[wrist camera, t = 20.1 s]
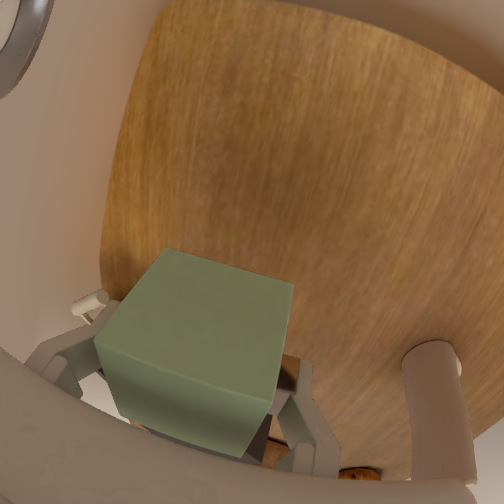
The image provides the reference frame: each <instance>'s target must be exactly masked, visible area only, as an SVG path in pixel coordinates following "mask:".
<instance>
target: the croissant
mask: <svg viewBox="0 0 504 504" xmlns="http://www.w3.org/2000/svg"><path fill="white" fill-rule="evenodd" d="M338 479H352V480H373V481H382V480H381V478H380V477H379V475H378V474H377V473H376V472H375V471H373V470H370V469H362V468H360V469H358V468H356V469H351V470H345V471H341V472H339V475H338Z"/></svg>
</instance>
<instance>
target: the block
mask: <svg viewBox="0 0 504 504" xmlns="http://www.w3.org/2000/svg"><path fill="white" fill-rule="evenodd" d="M293 291H294V284H293V283H290V282H286V281H283V280H279V279H275V278H272V277H268V276H265V275H261V274H257V273H254V272H250V271H247V270H243V269H240V268H236V267H233V266H229V265H226V264H222V263H219V262H215V261H212V260H208V259H205V258H201V257H198V256H195V255H191V254H188V253H184V252H181V251H177V250H174V249H171V248H165V249H164V250H163V251H162V252H161V254H160V255H159V256H158V257H157V259H156V260H155V261H154V262H153V263H152V265H151V266H150V267H149V268H148V270H147V271H146V272H145V273H144V274H143V276H142V277H141V278H140V279H139V281H138V282H137V283H136V284H135V286H134V287H133V288H132V289H131V291H130V292H129V293H128V295H127V296H126V297H125V298H124V300H123V301H122V302H121V304H120V305H119V306H118V307H117V309H116V310H115V311H114V313H113V314H112V315H111V317H110V318H109V319H108V321H107V322H106V323H105V325H104V326H103V327H102V329H101V330H100V331H99V333H98V334H97V335H96V337H95V338H94V344H95V347H96V350H97V354H98V357H99V360H100V363H101V366H102V369H103V372H104V375H105V378H106V380H107V383H108V386H109V388H110V391H111V394H112V396H113V399H114V402H115V404H116V407H117V409H118V411H119V414H120V415H121V416H123V417H125V418H127V419H129V420H132V421H134V422H136V423H138V424H141V425H143V426H146V427H148V428H150V429H153V430H155V431H158V432H161V433H163V434H166V435H168V436H171V437H174V438H177V439H179V440H182V441H185V442H188V443H191V444H194V445H197V446H200V447H203V448H207V449H210V450H213V451H217V452H220V453H224V454H227V455H231V456H235V457H239V458H241V457H242V456H243V454H244V452H245V451H246V449H247V447H248V446H249V444H250V442H251V441H252V439H253V437H254V435H255V434H256V432H257V430H258V429H259V427H260V425H261V423H262V422H263V420H264V418H265V416H266V414H267V413H268V411H269V409H270V407H271V405H272V404H273V401H274V396H275V391H276V386H277V381H278V376H279V371H280V365H281V360H282V355H283V349H284V344H285V338H286V333H287V327H288V321H289V315H290V309H291V303H292V297H293Z"/></svg>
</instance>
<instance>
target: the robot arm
mask: <svg viewBox="0 0 504 504" xmlns="http://www.w3.org/2000/svg"><path fill="white" fill-rule="evenodd" d="M19 4H20V0H0V51H1V50H2V48H3V47H4V45H5V43H6V41H7V39H8V37H9V35H10V33H11V30H12V28H13V25H14V22H15V19H16V16H17V12H18V9H19ZM120 304H121V302H119V301H117V300H114V299H113V300H111V301H109V303H108V304H107V305H106V306H105V308H104V309H103V310H102V312H101V313H100V314H99V315H98V317H97V318H96V319H95V320H94V321H93V323H92V324H91V325H88V324H87V325H84V326H82V327H79V328H77V329H74V330H72V331H69V332H67V333H64V334H62V335H59V336H57V337H54V338H52V339H49V340H47V341H44V342H42V343H40V344H39V346H38V347H37V348H36V349H35V351H34V352H33V353H32V355H31V356H30V357H29V358H28V360H27V361H26V362H25V364H22V363H21V362H20V361H18V360H17V359H15V358H14V357H13V356H11V355H10V354H9V353H7V352H6V351H5V350H4V349H2V348H1V347H0V504H477V502H476V499H475V498H474V496H473V494H472V493H471V492H470V490H469V489H468V487H467V486H466V485H465V483H464V482H463V481H462V480H461V479H460V478H457V477H449V478H440V479H427V480H408V481H407V480H406V481H373V480H352V479H338V475H339V464H340V451H341V447H340V445H339V443H338V441H337V440H336V438H335V436H334V434H333V433H332V431H331V429H330V427H329V425H328V424H327V422H326V420H325V418H324V416H323V415H322V413H321V411H320V409H319V407H318V406H317V404H316V402H315V400H314V399H312V398H310V395H311V385H312V374H313V362H312V361H308V360H304V359H299V358H297V357H292V356H288V355H284V354H283V355H282V360H281V365H280V371H279V376H278V381H277V386H276V391H275V396H274V401H273V404H272V405H271V407H270V409H269V411H268V413H267V414H270V415H274V416H277V419H278V421H279V424H280V426H281V429H282V432H283V434H284V437H285V439H286V442H287V445H288V447H289V450H290V451H289V452H288V453H287V454H286V455H285V456H284V457H283V458H282V459H281V460H280V461H279V462H278V463H277V467H276V470H274V469H269V468H264V467H259V466H255V465H250V464H246V463H242V462H238V461H234V460H230V459H226V458H223V457H219V456H216V455H212V454H209V453H206V452H202V451H199V450H196V449H193V448H190V447H187V446H184V445H181V444H178V443H176V442H173V441H170V440H167V439H165V438H162V437H159V436H157V435H154V434H152V433H149V432H147V431H145V430H142V429H140V428H137V427H135V426H133V425H131V424H128V423H126V422H124V421H122V420H119V419H117V418H115V417H113V416H111V415H109V414H107V413H105V412H103V411H101V410H99V409H97V408H95V407H93V406H91V405H89V404H88V403H86V402H84V401H82V400H80V399H81V397H82V395H83V392H82V390H81V387H80V385H79V383H78V381H80V380H81V379H83V378H85V377H87V376H88V375H90V374H92V373H94V372H95V371H97V370H99V369H100V368H102V366H101V363H100V360H99V357H98V354H97V350H96V347H95V344H94V338H95V337H96V335H97V334H98V333H99V331H100V330H101V329H102V327H103V326H104V325H105V323H106V322H107V321H108V319H109V318H110V317H111V315H112V314H113V313H114V311H115V310H116V309H117V307H118V306H119V305H120Z"/></svg>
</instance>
